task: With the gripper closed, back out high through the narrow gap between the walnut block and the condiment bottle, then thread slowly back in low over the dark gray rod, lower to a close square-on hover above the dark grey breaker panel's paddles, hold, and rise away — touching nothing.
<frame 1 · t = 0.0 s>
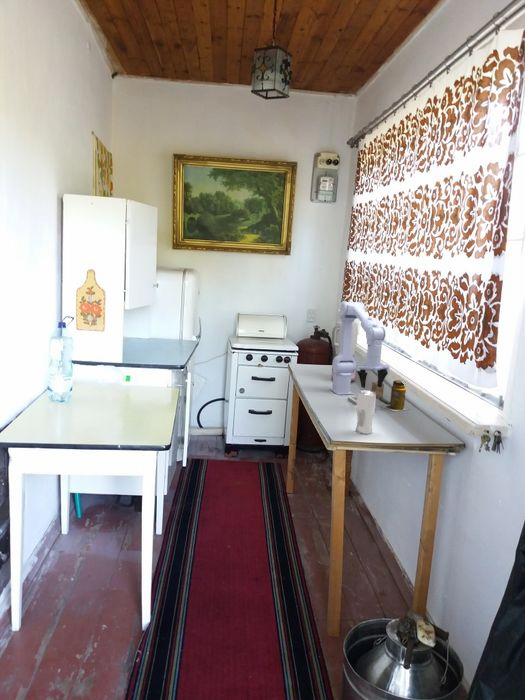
hand: (371, 387, 222), 10 cm above the table, fingers open, 7 cm apart
beer glass: (363, 431, 197), on the table
dark gray rod: (384, 401, 238), on the table
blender: (340, 381, 274), on the table
breaker panel: (360, 402, 234), on the table
condiment: (395, 408, 229), on the table
walnut block: (376, 397, 245), on the table
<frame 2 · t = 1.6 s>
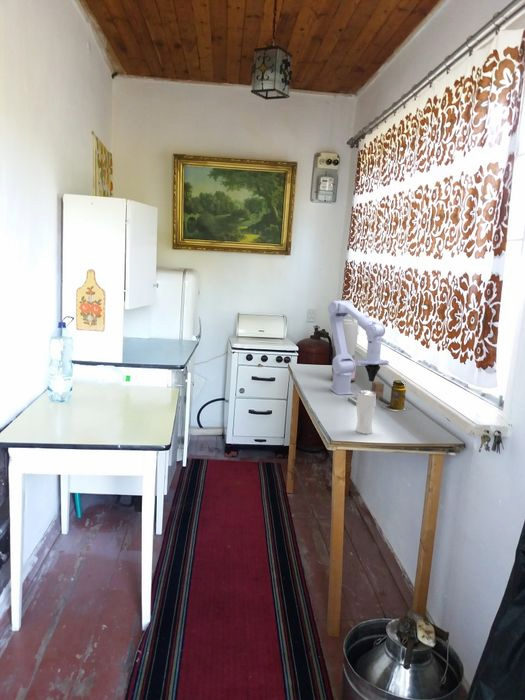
hand: (371, 381, 234), 10 cm above the table, fingers closed
nothing on the table moved.
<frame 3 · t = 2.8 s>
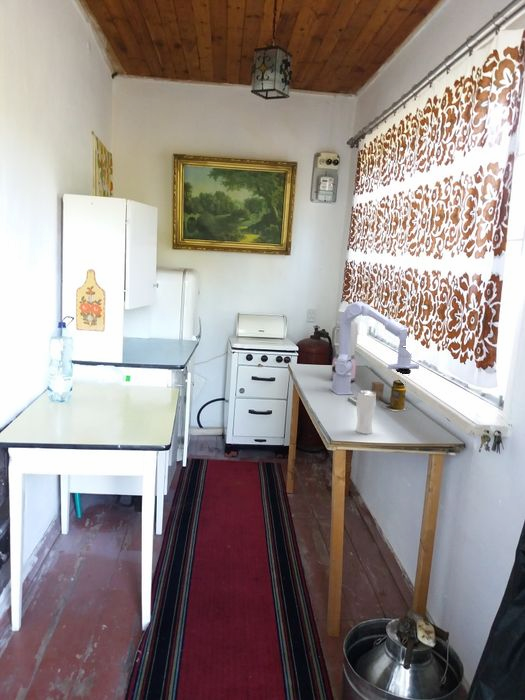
hand: (401, 384, 238), 8 cm above the table, fingers closed
nothing on the table moved.
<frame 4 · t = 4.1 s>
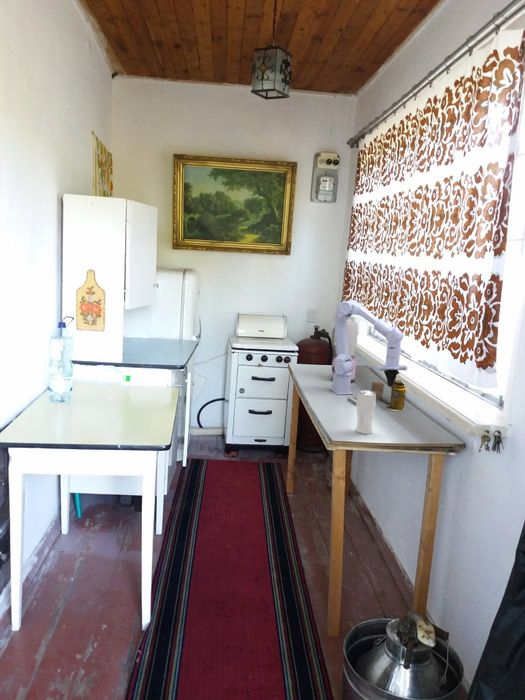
hand: (390, 386, 237), 7 cm above the table, fingers closed
nothing on the table moved.
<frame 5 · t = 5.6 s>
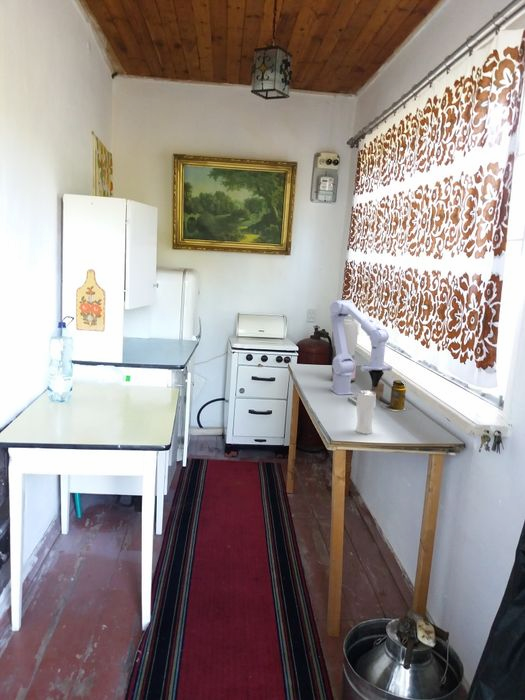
hand: (374, 386, 235), 7 cm above the table, fingers closed
nothing on the table moved.
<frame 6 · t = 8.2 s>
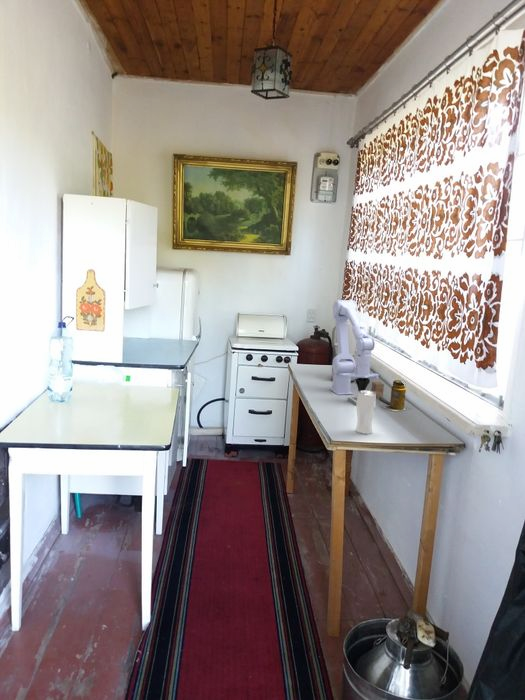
hand: (361, 394, 234), 4 cm above the table, fingers closed
nothing on the table moved.
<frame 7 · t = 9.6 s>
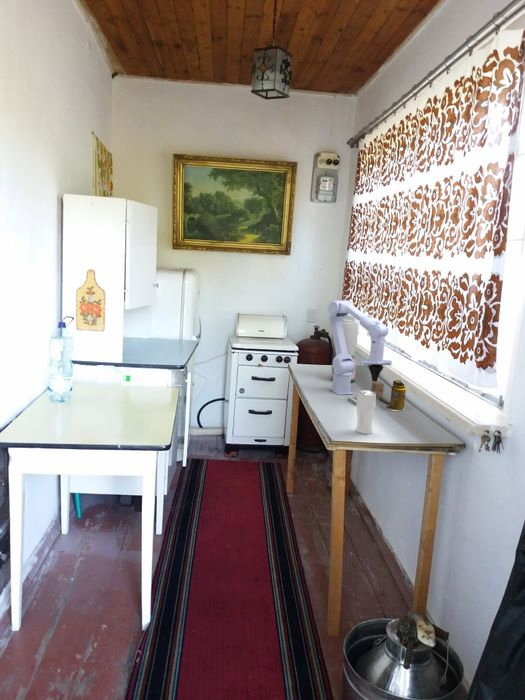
hand: (374, 381, 234), 10 cm above the table, fingers closed
nothing on the table moved.
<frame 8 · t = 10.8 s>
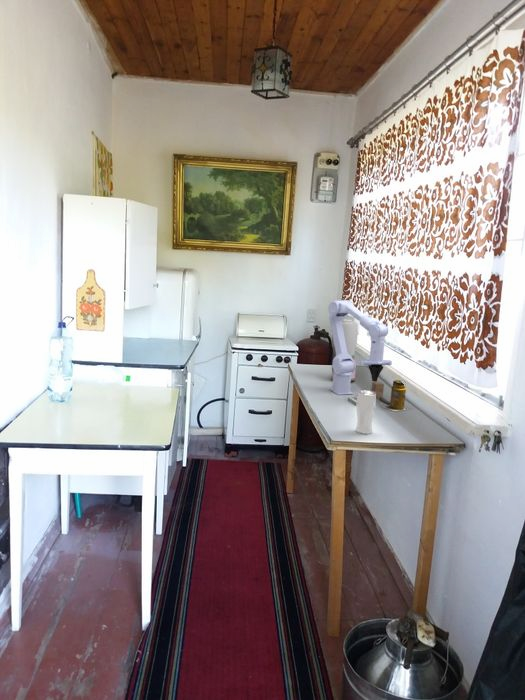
hand: (374, 381, 234), 10 cm above the table, fingers closed
nothing on the table moved.
at the end: condiment moved 0.3 cm from its start; condiment tilted 0°; walnut block moved 0.1 cm from its start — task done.
